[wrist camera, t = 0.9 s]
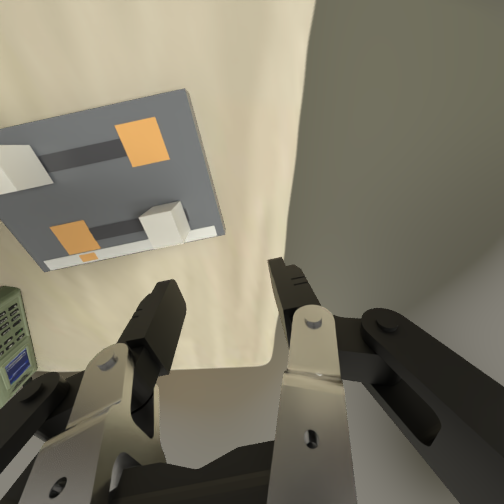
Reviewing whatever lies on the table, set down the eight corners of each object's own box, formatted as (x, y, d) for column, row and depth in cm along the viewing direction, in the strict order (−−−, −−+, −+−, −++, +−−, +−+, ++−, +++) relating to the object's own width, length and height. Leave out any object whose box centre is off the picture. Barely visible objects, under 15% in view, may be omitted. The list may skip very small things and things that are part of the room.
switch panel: (-39, 143, 21) (-65, 142, 19) (189, 93, 20) (184, 88, 18) (56, 264, 28) (43, 272, 26) (225, 228, 27) (225, 234, 26)
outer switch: (152, 206, 23) (138, 217, 20) (180, 200, 23) (170, 210, 19) (165, 234, 25) (154, 249, 21) (190, 229, 25) (183, 243, 21)
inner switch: (-3, 151, 19) (-55, 153, 16) (29, 144, 19) (-16, 144, 16) (24, 189, 21) (-18, 198, 18) (53, 183, 21) (17, 190, 18)
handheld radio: (25, 288, 29) (46, 385, 40) (-1, 283, 29) (27, 383, 39) (-29, 323, 23) (11, 427, 34) (-64, 318, 23) (-12, 425, 33)
